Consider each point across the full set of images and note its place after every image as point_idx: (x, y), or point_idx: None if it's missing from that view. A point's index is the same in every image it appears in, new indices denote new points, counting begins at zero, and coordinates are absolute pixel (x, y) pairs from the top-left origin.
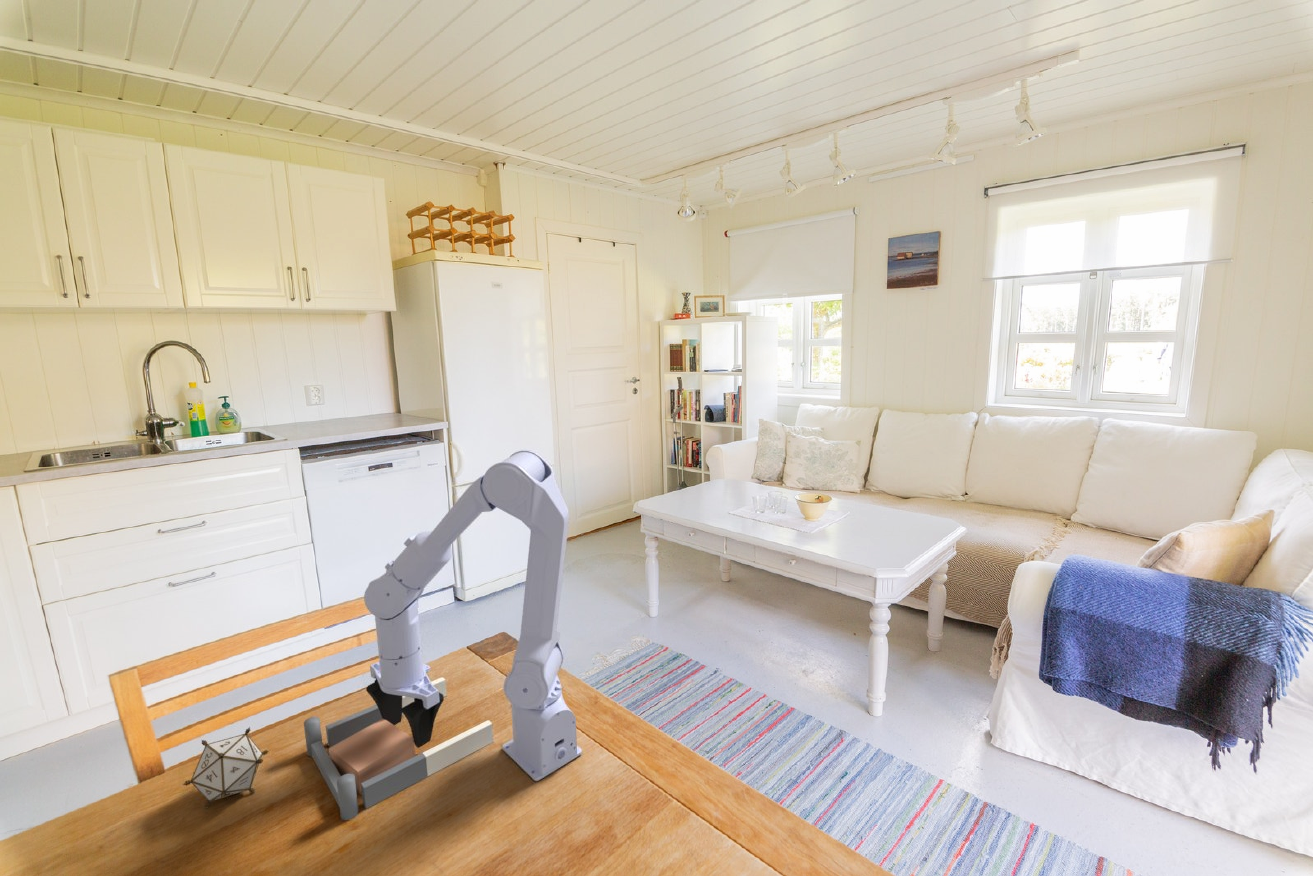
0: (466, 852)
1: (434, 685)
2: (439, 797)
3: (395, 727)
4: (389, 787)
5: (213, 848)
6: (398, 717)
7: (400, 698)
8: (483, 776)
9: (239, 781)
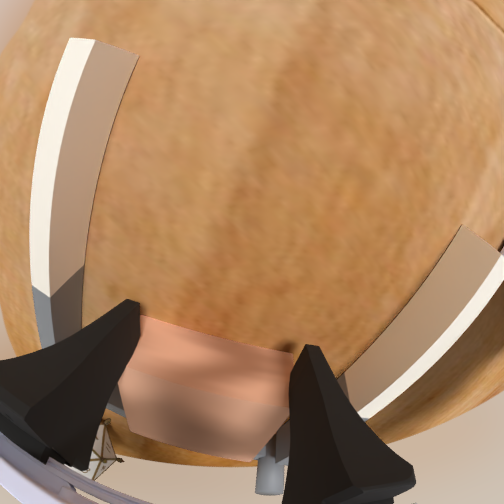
0: (458, 410)
1: (76, 98)
2: (405, 391)
3: (193, 391)
4: None
5: (167, 457)
6: (131, 322)
7: (93, 359)
8: (471, 332)
9: (110, 454)
